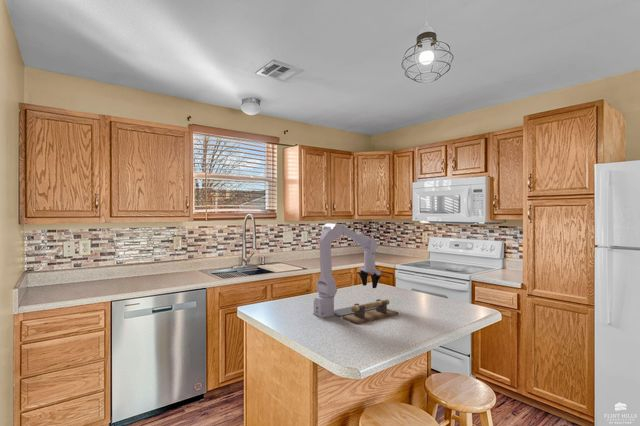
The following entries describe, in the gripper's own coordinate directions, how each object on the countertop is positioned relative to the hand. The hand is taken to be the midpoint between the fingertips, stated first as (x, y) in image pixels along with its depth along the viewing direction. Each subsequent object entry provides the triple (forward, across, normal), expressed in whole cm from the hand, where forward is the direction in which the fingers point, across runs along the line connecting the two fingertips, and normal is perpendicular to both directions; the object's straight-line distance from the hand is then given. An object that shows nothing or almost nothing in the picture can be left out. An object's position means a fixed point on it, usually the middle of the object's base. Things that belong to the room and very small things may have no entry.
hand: (369, 286), depth 180 cm
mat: (+10, -3, +13) cm, 16 cm away
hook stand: (+10, -15, +13) cm, 22 cm away
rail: (+6, -15, +13) cm, 20 cm away
